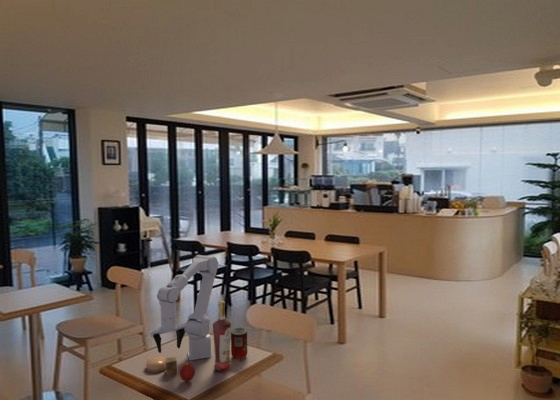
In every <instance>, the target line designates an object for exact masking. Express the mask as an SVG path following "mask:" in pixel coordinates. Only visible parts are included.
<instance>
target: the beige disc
mask: <svg viewBox="0 0 560 400" xmlns="http://www.w3.org/2000/svg"><path fill="white" fill-rule="evenodd" d="M166 358H168V356H162V355H159V356H153V357H151V358H149V359H147V360H146V363H145V365H146V366H145V367H146V371H147V372H150V373H160V372H163V371H166Z"/></svg>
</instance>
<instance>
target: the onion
mask: <svg viewBox="0 0 560 400" xmlns="http://www.w3.org/2000/svg"><path fill="white" fill-rule="evenodd" d="M195 375H196V370H195V367H194V365H192V364H191V363H189V362H188V361H187V362H185V364H183V365H182V366H181V367H180V370H179V378H180V379H181V380H183V381H184V382H185V383H189V382H190V381H192V380H193V379H194V377H195Z"/></svg>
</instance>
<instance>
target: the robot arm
mask: <svg viewBox="0 0 560 400" xmlns="http://www.w3.org/2000/svg"><path fill="white" fill-rule="evenodd" d="M218 267H219V260H218V258H217V257H216V256H215V255H213V256H211V255H210V256H209V255H202V254H197V255H195V256H194V257H193V258H192V261H191V263H190V264H189V265H188V267H187V268H186V269H185V270H184V272H183V273H182V274H176V275H175V276H174V277H173V279H172V280H171V281H170V282H169V283H168V284H166V285H165V286H161V287H160V288H159V289H158V291H157V294H156V298H157V300H158V302H159V303H158V304H159V305H160V327H156V328H154V329H150V330H149V336H150V337H152V338H153V340H154V342H155V345H156V347H157V352H158V353H159V354H161V353H162V337H161V335H162V334H167V333H172V332H175V333H176V334H175V335H176V348H177V349H181V346H182V340H183V338H184V336H185V335H186V334H187V335H186V336H187V337H188V351H187V353H186V354H187V357H188V360H189V361H195V360H200V359H201V360H202V359H208V358H212V344H211V343H212V341H211V335H210V333H209V332H210V321H211V320H210V318H209V317H208V315H207V311H208V307H209V303H210V299H211V295H212V292H213V291H212V290H213V286H214V283H215V279H216V275H217V272H218ZM197 273H199V274H200V275H201V276H202V279H201V284H200V287H199V290H198V291H199V292H198V295H197V299H196V303H195V307H194V311H193V312H192V313H190V314H189V315H188V317H187V320H186V321H185V322H184V323H183V322H182V323H177V322H176V321H177V320H176V319H177V317H176V316H177V315H176V301H177V300H178V299H179V295H180V294H181V292H182V291H183V290H184V288H186V287H187V285H189V283H188V281H189V280H190V279H191V278H192V277H194V276H195V274H197Z"/></svg>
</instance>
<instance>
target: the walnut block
mask: <svg viewBox="0 0 560 400" xmlns="http://www.w3.org/2000/svg"><path fill="white" fill-rule="evenodd" d="M165 374H166V377H168V376H170V377H171V376H175V375H178V360H177V356H172V357H167V358H166V370H165Z"/></svg>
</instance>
